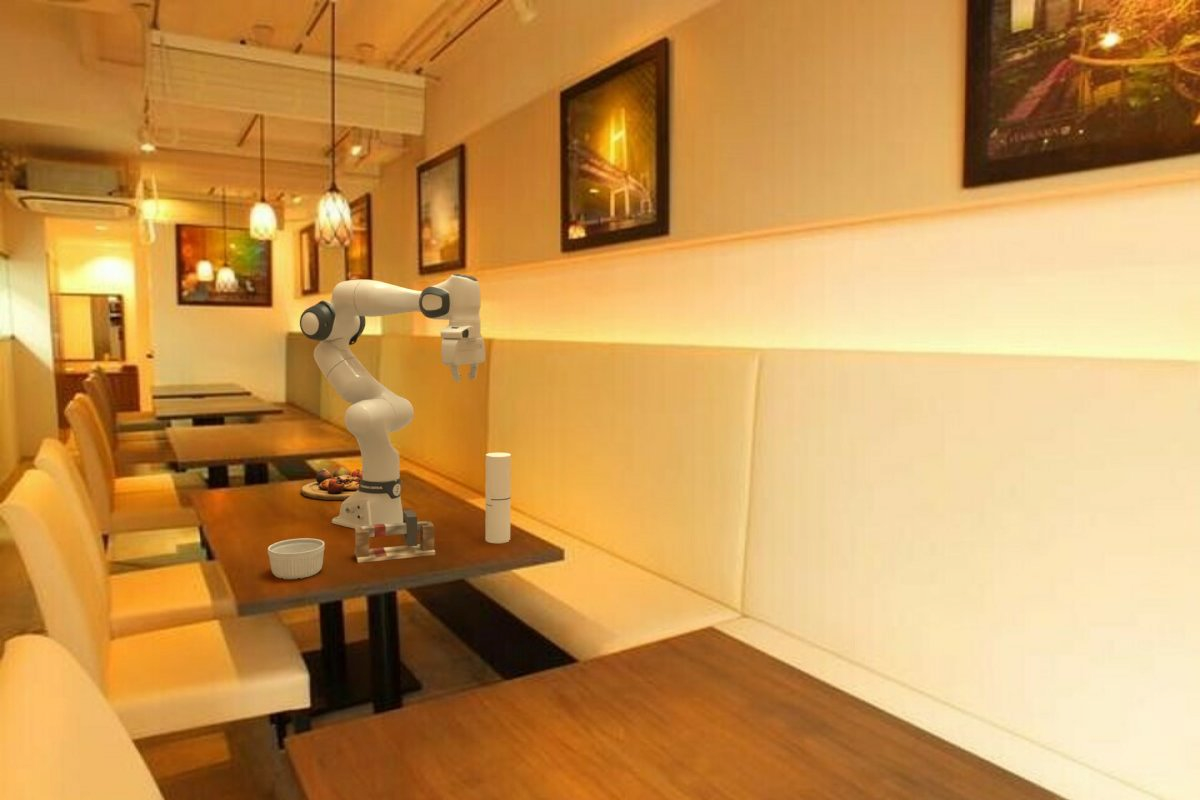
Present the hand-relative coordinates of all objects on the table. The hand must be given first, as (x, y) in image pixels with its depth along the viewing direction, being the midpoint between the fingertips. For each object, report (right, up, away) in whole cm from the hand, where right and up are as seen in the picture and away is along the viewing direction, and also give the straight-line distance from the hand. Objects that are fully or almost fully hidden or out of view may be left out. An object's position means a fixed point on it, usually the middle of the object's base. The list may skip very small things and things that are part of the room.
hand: (464, 380), depth 219 cm
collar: (-13, -44, -12) cm, 48 cm away
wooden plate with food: (-53, -40, +60) cm, 90 cm away
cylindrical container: (+9, -46, +2) cm, 47 cm away
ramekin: (-37, -49, -29) cm, 68 cm away
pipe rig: (-16, -47, -13) cm, 52 cm away
